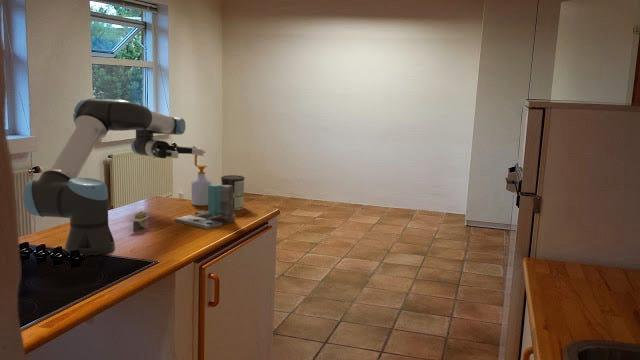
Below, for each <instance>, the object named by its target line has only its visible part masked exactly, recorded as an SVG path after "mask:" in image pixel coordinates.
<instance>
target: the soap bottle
mask: <svg viewBox="0 0 640 360" xmlns="http://www.w3.org/2000/svg"><path fill="white" fill-rule="evenodd" d="M203 154H206V151H205V150H203ZM198 156H199V155H194V166H195V167H196V168H198V170H199V171H198V172H197V177H196V178H194V179H193V180H192V182H191V205H193V206H197V207H204V206H208V185H213V184H212V181H211V180H210V179H209V178H207V177H206V171H204V170H205V169H206V168H208V166H207V165H205V164H203V165H199V164H198V160H197V159H198Z"/></svg>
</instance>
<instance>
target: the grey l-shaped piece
mask: <svg viewBox="0 0 640 360" xmlns="http://www.w3.org/2000/svg"><path fill="white" fill-rule="evenodd" d="M221 185H222V184H221ZM194 212H195V213H194V216H196V215H197V214H201V213H206V210H199V211H194ZM197 217H200V218H205V219H209V220H213V221H218V222H222V224H226V225H230V224H234V223H236V221H235V220H236V218H237V217H236V214H234V210H233V186H232V185H222V186H220V215H216V216H212V215H208V214H206V215H201V216H197Z"/></svg>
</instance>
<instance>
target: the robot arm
mask: <svg viewBox="0 0 640 360" xmlns="http://www.w3.org/2000/svg"><path fill="white" fill-rule="evenodd" d="M73 112H74V113H73V116H72V118H73V122H74V125H75V129H74V130H73V133H72V134H71V135H70V137H69V139H68V141H67V142H66V144H65V145H64V147H63V148H62V150H61V152H60V153H59V155H58V157H57V159H56V160H55V162H54V163H53V165H52V167H51V168H50V169H48V170H44V172H42V174H41V175H40V177H39V178H38V179H37V180H35V179H32V180H29V181H27V182H26V183H25V185H24V187H23V190H22V201H23V206H24V208H25V210H26V212H28V213H29V214H30V215H32V216H35V217H41V218H45V217H46V218H47V217H50V218H64V219H69V231H68V234H67V238H66V243H65V244H64V245H65V246H64V247H65V248H64V249H65V250H64V251H67V252H70V251H73V250H77V249H79V251H80V254H82V255H85V256H84V257H90V256H89V255H94V256H99V255H105V254H108V253H110V252H112V251H114V250H115V248H116V246H115V245H116V243H115V239H114V237H113V233H112V231H111V229H110V227H109V226H110V225H109V194H108V186H107V184H106V183H105V182H104V181H102V180H100V179H96V178H89V177H88V178H87V177H78V176H79V175H80V173H81V171H82V170H83V168H84V166H85V164H86V163H87V162H88V161H87V160H88V158H89V156H91V153H92V152H93V150H94V148H95V146H96V144H97V142H98V141H99V140H102V139H104V138H105V137H106V135H107V134H108V132H109V131H112V132H113V131H114V132H115V131H118V132H119V131H123V132H124V131H135V138H134V139H133V140H132V142H131V143H130V144H131V145H130V147H131V150H132V152H134V153H135V154H138V155H140V156H145V157H147V156H148V157H153V159H156V158H157V159H167V158H170V159H179V154H185V155H186V154H187V155H189V154H190V155H193V156H195V155H198V156H200V157H203V156H204V153H203V151H204V149H202V148H197V147H195V146H193V147H189V146H178V145H177V146H176V145H175V146H173V145H170V144H169V142H167V141H165V140H159V139H154V134H155V135H175V136H177V135H179V136H180V135H181V136H182V135H183V134H184V133H185V131H186V121H185V119H184V118H183V117H174V116H169V115H165V114H162V113H159V112H156V111H153V110H150V109H149V108H148V107H147V106H144V105H142V104H138V103H135V102H132V101H128V100H124V99H111V98H110V99H109V98H107V99H106V98H85V99H84V98H83V99H82V100H80V101H79V102H78V103H77V104H76V105H75V107H74V110H73Z"/></svg>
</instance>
